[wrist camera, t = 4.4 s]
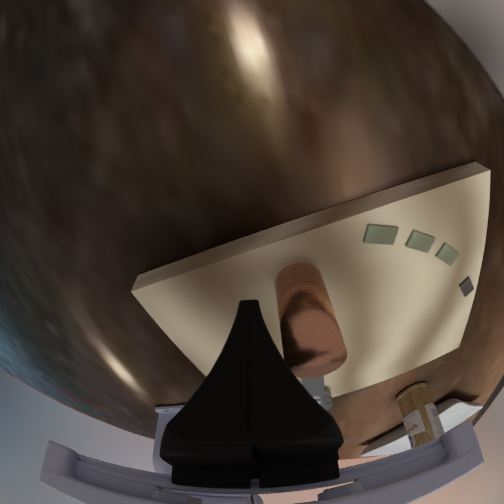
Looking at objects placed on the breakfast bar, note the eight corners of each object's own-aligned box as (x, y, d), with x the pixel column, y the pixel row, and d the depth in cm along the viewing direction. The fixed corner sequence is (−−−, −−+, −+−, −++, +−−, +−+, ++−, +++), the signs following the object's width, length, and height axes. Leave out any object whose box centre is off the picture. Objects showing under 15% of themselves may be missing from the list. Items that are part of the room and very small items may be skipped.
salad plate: (354, 443, 40) (357, 459, 37) (451, 387, 30) (458, 404, 28) (405, 441, 47) (408, 452, 44) (479, 394, 37) (484, 406, 34)
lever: (298, 405, 23) (305, 455, 18) (263, 263, 13) (271, 352, 9) (330, 399, 22) (340, 448, 18) (324, 251, 13) (356, 334, 9)
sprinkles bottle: (392, 393, 27) (419, 489, 16) (426, 376, 26) (459, 470, 14) (397, 403, 29) (420, 488, 18) (427, 388, 28) (455, 471, 17)
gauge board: (247, 403, 25) (248, 417, 24) (138, 275, 16) (129, 293, 15) (452, 336, 21) (459, 348, 20) (474, 161, 12) (492, 171, 11)
